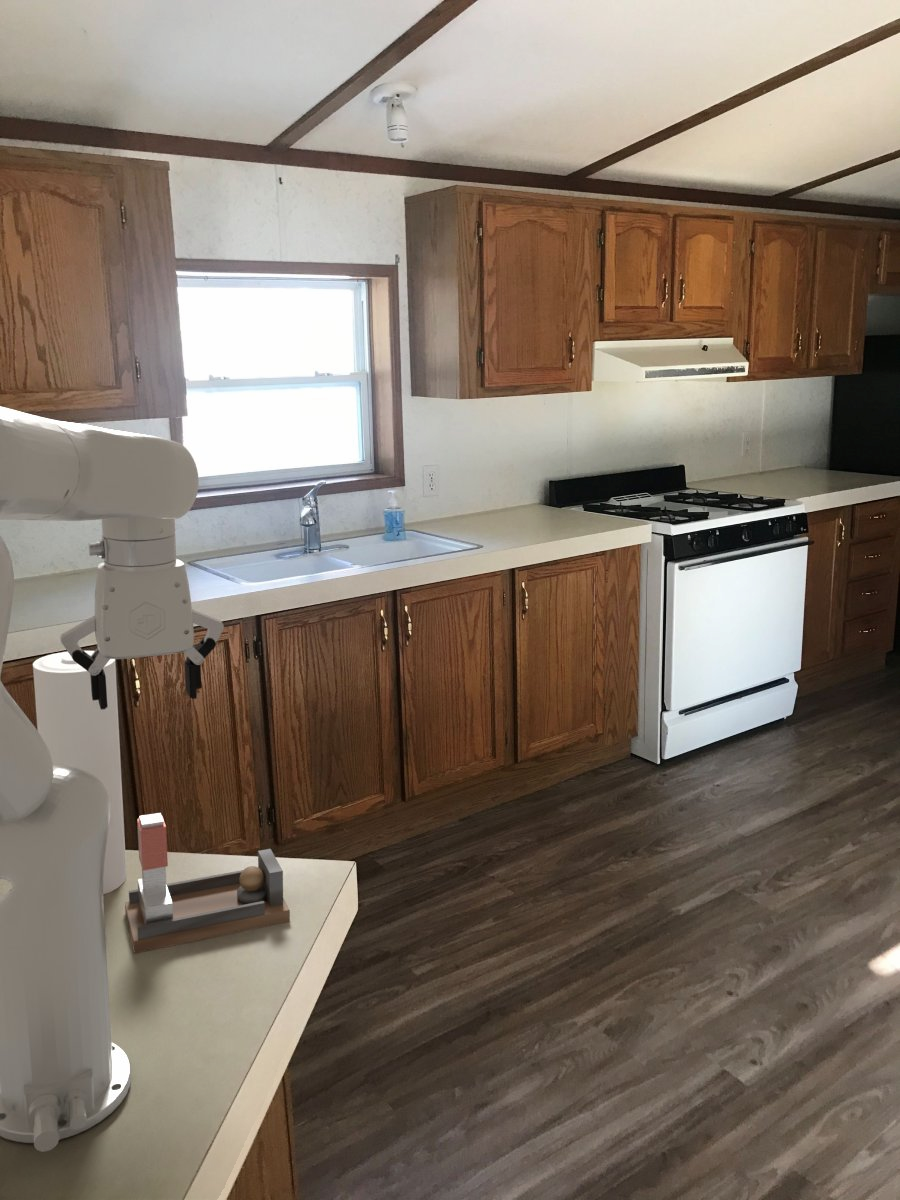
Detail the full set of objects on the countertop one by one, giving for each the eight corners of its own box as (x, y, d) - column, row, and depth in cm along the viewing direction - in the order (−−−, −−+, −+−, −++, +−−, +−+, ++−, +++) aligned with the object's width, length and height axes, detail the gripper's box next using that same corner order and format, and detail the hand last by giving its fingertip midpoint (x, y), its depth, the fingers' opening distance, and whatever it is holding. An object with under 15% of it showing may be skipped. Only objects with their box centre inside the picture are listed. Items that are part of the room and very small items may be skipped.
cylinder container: (33, 894, 122) (16, 665, 115) (74, 858, 131) (60, 644, 124) (102, 903, 120) (89, 671, 113) (139, 866, 129) (129, 649, 122)
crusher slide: (173, 926, 112) (169, 829, 110) (146, 931, 111) (141, 833, 108) (164, 896, 119) (160, 804, 116) (138, 901, 117) (134, 808, 115)
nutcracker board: (289, 921, 117) (289, 876, 116) (134, 953, 110) (132, 905, 109) (271, 885, 125) (270, 843, 124) (125, 913, 118) (123, 868, 117)
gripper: (56, 563, 99) (67, 721, 103) (227, 553, 106) (231, 702, 110) (52, 549, 105) (63, 698, 109) (213, 541, 112) (218, 681, 116)
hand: (147, 700), depth 109 cm, fingers open, 9 cm apart
